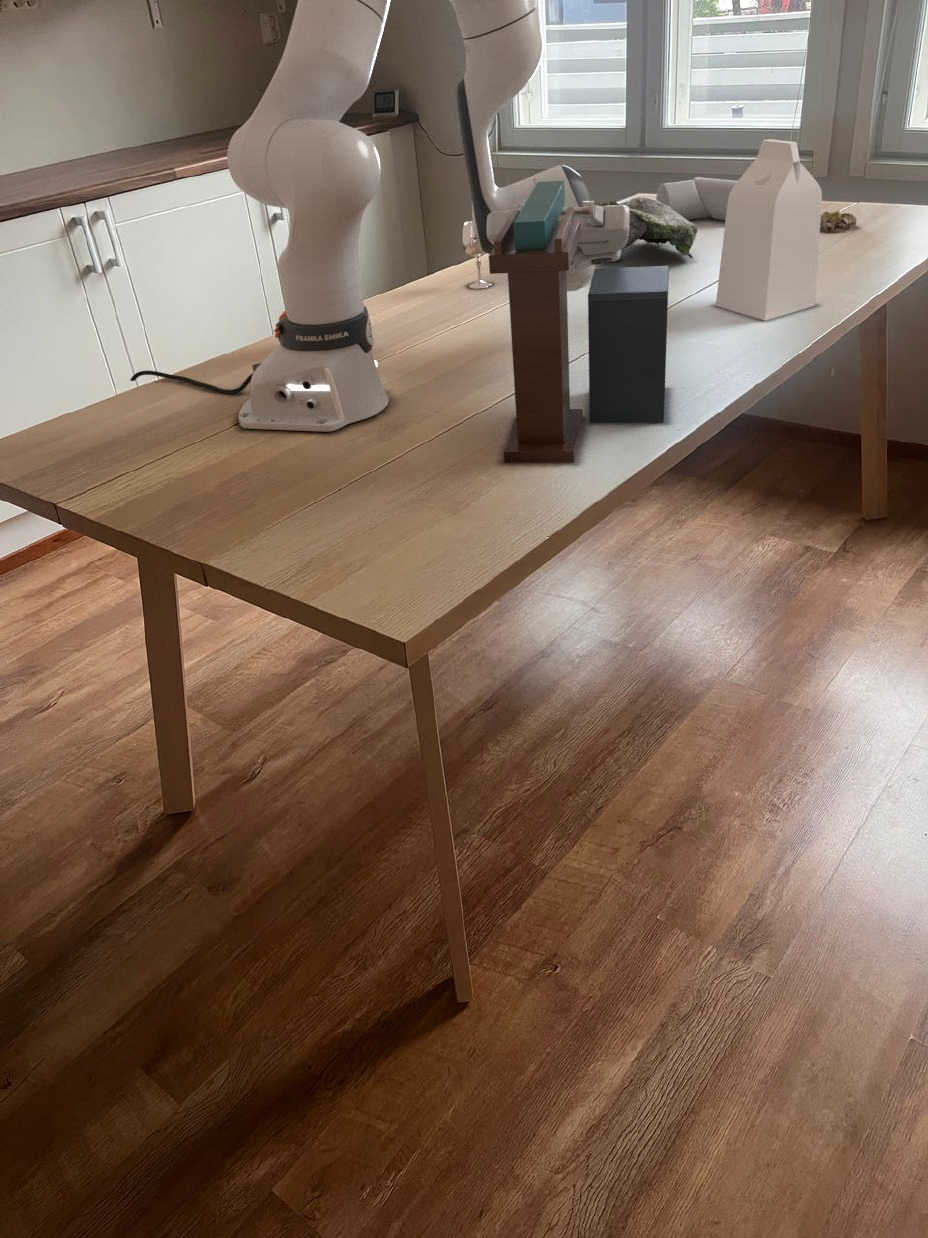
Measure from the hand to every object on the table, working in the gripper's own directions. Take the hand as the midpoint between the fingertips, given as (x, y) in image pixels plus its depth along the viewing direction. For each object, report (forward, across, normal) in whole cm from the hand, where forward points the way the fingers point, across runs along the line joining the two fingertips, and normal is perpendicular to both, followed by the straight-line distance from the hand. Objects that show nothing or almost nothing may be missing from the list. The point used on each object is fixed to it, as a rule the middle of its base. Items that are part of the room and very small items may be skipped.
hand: (552, 208), depth 129 cm
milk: (-45, +32, +3) cm, 56 cm away
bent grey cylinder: (-102, +25, -30) cm, 110 cm away
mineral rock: (-91, +50, -24) cm, 107 cm away
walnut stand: (+4, 0, +31) cm, 31 cm away
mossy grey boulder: (-76, +7, -15) cm, 78 cm away
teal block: (+12, 0, +6) cm, 13 cm away
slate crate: (-6, +11, +25) cm, 28 cm away
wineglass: (-62, -22, -6) cm, 66 cm away
